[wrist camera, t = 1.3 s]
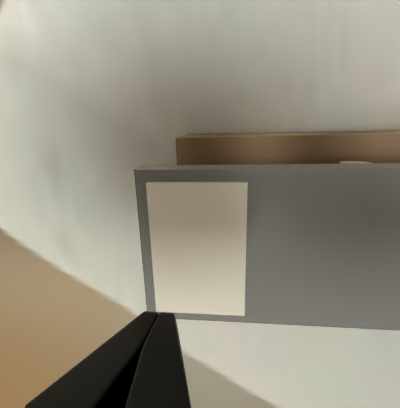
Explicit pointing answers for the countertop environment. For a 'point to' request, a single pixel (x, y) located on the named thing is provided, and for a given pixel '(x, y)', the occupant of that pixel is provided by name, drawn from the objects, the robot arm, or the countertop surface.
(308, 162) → the switch base
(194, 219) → the grey flat panel
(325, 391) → the countertop surface
